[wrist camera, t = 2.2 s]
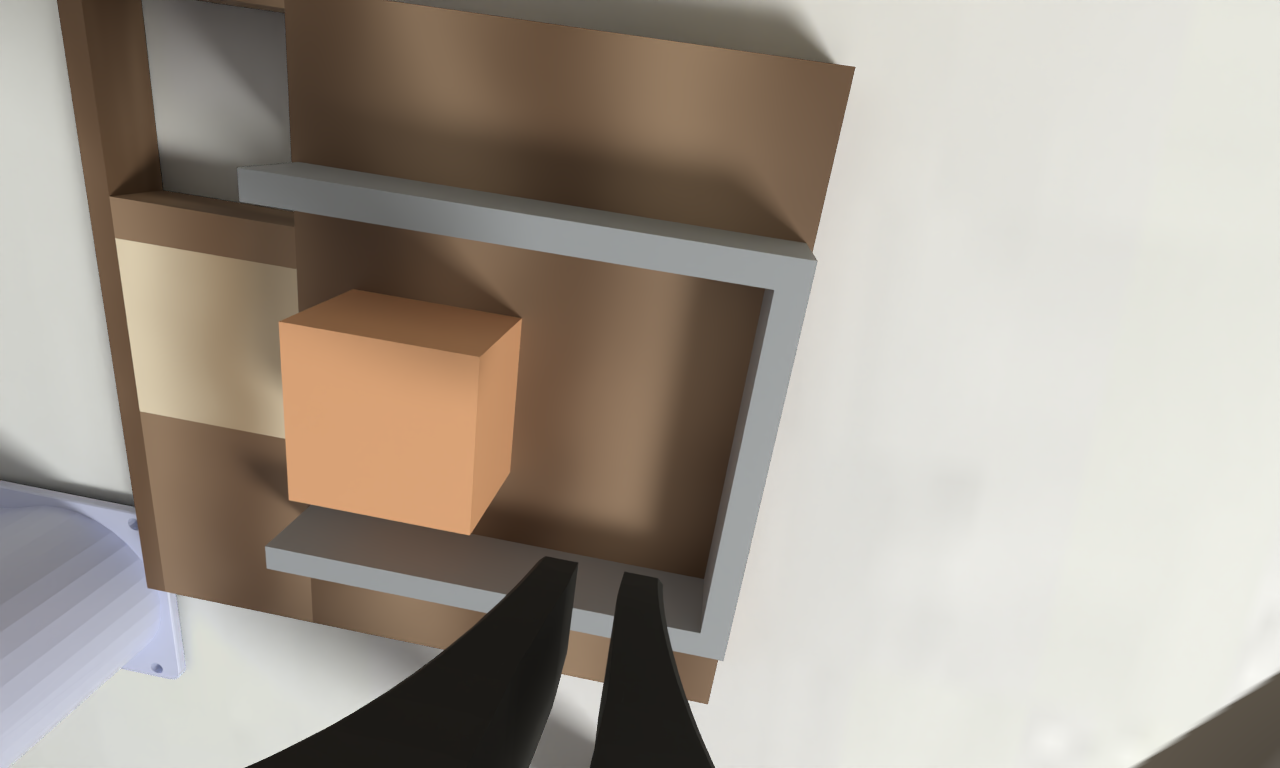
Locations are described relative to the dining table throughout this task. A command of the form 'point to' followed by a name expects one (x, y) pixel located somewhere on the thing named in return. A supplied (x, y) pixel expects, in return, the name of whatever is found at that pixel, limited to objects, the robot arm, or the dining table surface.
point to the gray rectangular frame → (784, 268)
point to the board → (449, 281)
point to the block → (399, 407)
